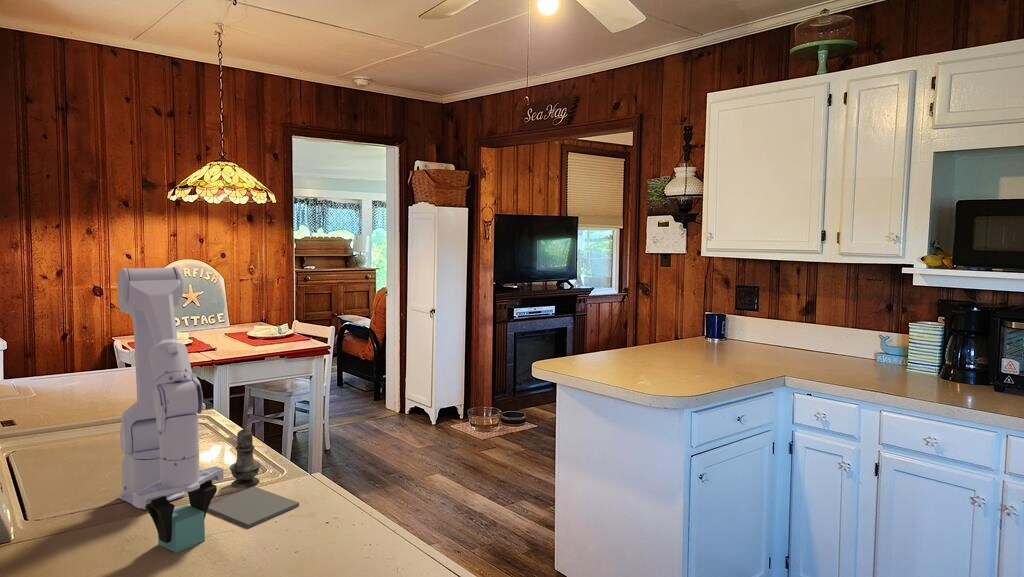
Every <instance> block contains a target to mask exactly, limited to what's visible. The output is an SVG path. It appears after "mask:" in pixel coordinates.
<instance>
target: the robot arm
mask: <svg viewBox="0 0 1024 577" xmlns="http://www.w3.org/2000/svg"><path fill="white" fill-rule="evenodd" d="M116 282H117V283H116V286H117V300H118V302H117V303H118V308H119V312H121V313H124V314H126V315H129V316H130V319H131V320H132V325H133V326H132V327H133V341H134V361H135V363H134V364H135V380H136V381H135V382H136V400H137V401H135V402H134V403H133V404H132V405H131V406H129V407H128V408H127V409H126V410H125V411H123V413H122V415H121V417H120V427H119V428H120V429H119V436H120V438H119V440H120V447H121V450H122V453H123V454H124V455H125V456H124V457H123V459H122V462H121V486H122V487H121V488H122V489H121V490H122V491H121V492H122V493H120V494H118V495H117V499H120V500H122V501H124V502H126V503H129V504H130V505H132V506H133V507H135V508H137V509H142V510H146V511H147V513H148V514H149V516H150V518H151V520H152V521H153V524H154V526H155V528H156V531H157V532H156V533H157V536H158V535H159V539H160V540H161V541H163V542H165V543H169V542H171V536H172V530H171V522H172V514H173V510H174V509H175V506H176V505H175V504H173V503H171V501H174V500H177V499H180V498H183V497H185V496H186V493H185V492H187V496H188V499H189V500H188V501H189V506H191V507H194V508H196V509H199V510H201V511H203V512H204V521H205V520H206V516H207V513H208V511H207V510H208V507H209V505H210V503H212V500H213V498H214V496H215V495H216V493H217V492H218V489H217V485H215V484H213V482H214V481H218V482H219V481H221V480H224V468H223V467H220V466H217V465H214V466H211V467H207V468H202V469H200V444H199V442H200V440H199V439H200V438H199V436H200V435H199V415H200V414H202V412H203V408H204V407H203V406H204V396H203V390H202V385H201V382H200V380H199V379H198V377H197V374H196V373H193V371H192V366H191V361H190V357H189V352H188V348H187V346H186V345H185V344H184V343H183V342H181V341H179V340H178V334H177V333H178V332H177V325H176V314H175V308H176V307H177V306H178V305H179V304H180V300H181V298H182V297H183V294H184V277H183V273H182V271H181V270H180V269H179V268H178V267H177V266H172V267H146V268H145V267H144V268H143V267H141V268H140V267H139V268H138V267H137V268H126V267H121V268H120V270H119V271H118V273H117V281H116Z"/></svg>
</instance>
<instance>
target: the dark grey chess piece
mask: <svg viewBox="0 0 1024 577" xmlns="http://www.w3.org/2000/svg"><path fill="white" fill-rule="evenodd" d="M242 428H243V429H241V430H239V431H238V432H237V434H236V439H237V440H236V443H237V446H235V451H236V461H235V462H234V463H232V464H231V465H230V466H228V467H229V470H230V471H231V474H232V477H234V478H235V479H234V480H233V481H232V482H231V487H232V488H236V489H248V488H251V487H254V486H255V487H256V486H257V485H259V484H260V479H258V478H257V477H256V476H257V475H258V473H259V471H260V468H261V466H262V465H261V463H260V462H259V461H255V459H254V449H255V448H256V447H255V445H254V444H253V439H254V438H253V432H252V430H250V429H248V428H247V426H246V425H245V424H244V425H243V426H242Z"/></svg>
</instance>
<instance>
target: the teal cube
mask: <svg viewBox="0 0 1024 577" xmlns="http://www.w3.org/2000/svg"><path fill="white" fill-rule="evenodd" d="M171 530H172V536H171V542H169V543H165V542H163V541H161V540H160V539H159V535H158V534H157V539H158V540H157V542H158V545H159V546H161V547H162V548H163V547H164V548H166V549H167V550H169V551H172V552H174V553H175V554H177V553H179V552H182V551H184V550H186V549H189V548H191V547H193V546H196V545H198V544H200V543H203V542H205V541H206V532H205V530H206V529H205V520H204V512H203V511H201V510H199V509H196V508H194V507H191V506H190V504H187V503H186V504H183V505H180V506H178V507H176V508H175V507H174V510H173V514H172V522H171Z"/></svg>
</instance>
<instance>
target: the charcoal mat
mask: <svg viewBox="0 0 1024 577" xmlns="http://www.w3.org/2000/svg"><path fill="white" fill-rule="evenodd" d="M297 507H300V502H298V501H296V500H293V499H290V498H287V497H284V496H281V495H280V494H276V493H274V492H271V491H269V490H265V489H264V488H263V489H262V488H260V487H257V486H256V485H255V486H253V487H249V488H245V489H243V490H240V491H238V492H236V493H234V494H230V495H228V496H225V497H222V498H220V499H217V500H215V501H211V502H210V505H209V507H208V510H207V512H209V513H212V514H214V515H216V516H219V517H222V518H224V519H227V520H229V521H231V522H233V523H236V524H238V525H241V526H244V527H245V528H248V529H249V528H252V527H254V526H256V525H258V524H261V523H263V522H265V521H267V520H268V521H269V520H270V519H272V518H274V517H276V516H279V515H282V514H284V513H286V512H288V511H291V510H293V509H295V508H297Z"/></svg>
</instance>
